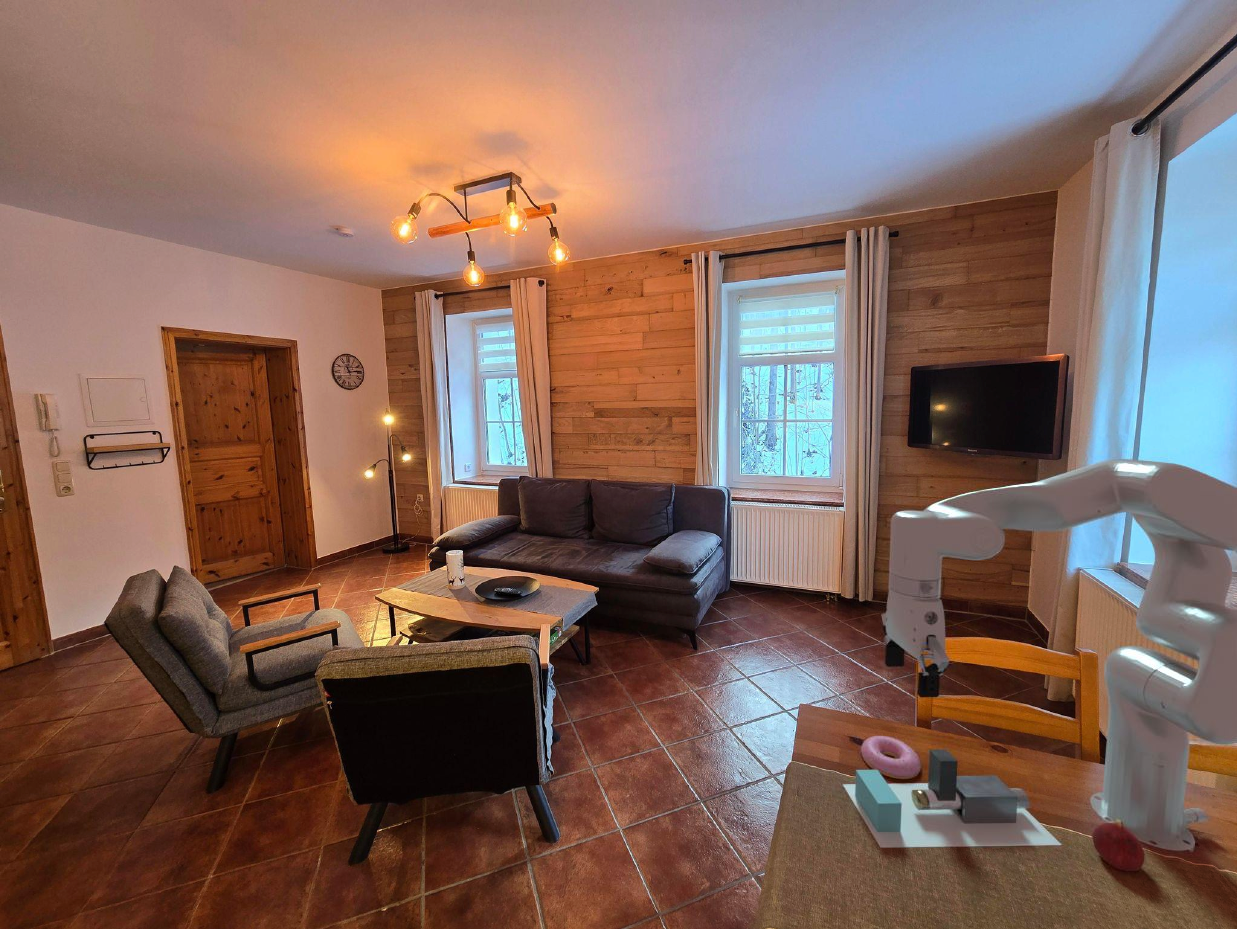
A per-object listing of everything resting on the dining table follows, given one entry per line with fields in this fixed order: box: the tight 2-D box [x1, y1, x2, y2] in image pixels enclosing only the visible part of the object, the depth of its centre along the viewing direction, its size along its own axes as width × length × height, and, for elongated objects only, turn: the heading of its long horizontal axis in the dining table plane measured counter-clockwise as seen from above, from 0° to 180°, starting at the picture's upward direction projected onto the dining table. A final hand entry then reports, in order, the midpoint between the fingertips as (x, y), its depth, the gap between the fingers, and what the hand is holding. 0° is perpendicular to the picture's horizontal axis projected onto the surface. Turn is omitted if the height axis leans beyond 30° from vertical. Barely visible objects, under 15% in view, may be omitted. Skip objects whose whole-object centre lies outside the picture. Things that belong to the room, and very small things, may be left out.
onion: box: [1091, 819, 1146, 872], centre depth 78 cm, size 6×6×8 cm
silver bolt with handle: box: [911, 748, 1030, 810], centre depth 87 cm, size 19×3×10 cm, turn 90°
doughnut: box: [860, 735, 922, 780], centre depth 101 cm, size 11×11×4 cm
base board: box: [842, 782, 1063, 849], centre depth 88 cm, size 30×14×1 cm, turn 90°
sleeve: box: [953, 775, 1018, 824], centre depth 88 cm, size 9×5×5 cm, turn 90°
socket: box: [855, 769, 902, 832], centre depth 88 cm, size 4×8×5 cm, turn 0°
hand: (910, 680), depth 84 cm, fingers open, 9 cm apart
